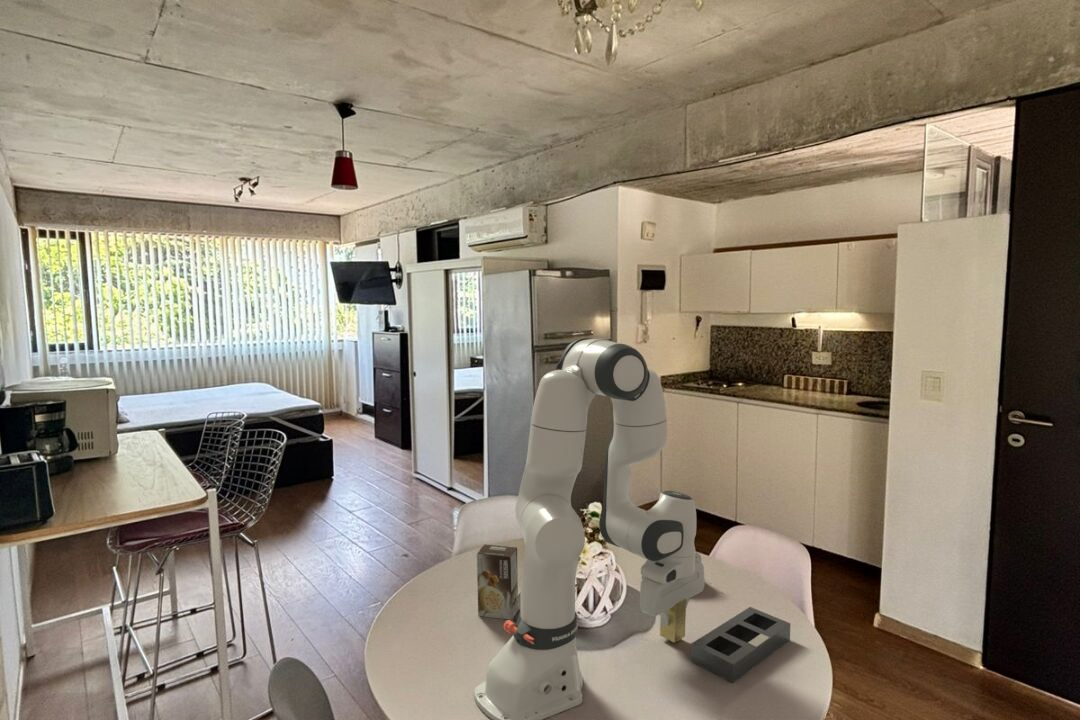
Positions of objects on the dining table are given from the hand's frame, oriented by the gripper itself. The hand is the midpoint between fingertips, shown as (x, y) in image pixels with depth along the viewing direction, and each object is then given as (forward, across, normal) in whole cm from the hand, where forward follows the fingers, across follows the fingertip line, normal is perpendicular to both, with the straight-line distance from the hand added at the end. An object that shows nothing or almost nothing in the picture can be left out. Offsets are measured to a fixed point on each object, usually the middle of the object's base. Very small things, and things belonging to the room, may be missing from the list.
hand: (672, 620), depth 134 cm
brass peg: (+4, 0, 0) cm, 4 cm away
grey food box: (+6, +22, -37) cm, 43 cm away
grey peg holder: (+4, -8, +13) cm, 16 cm away
